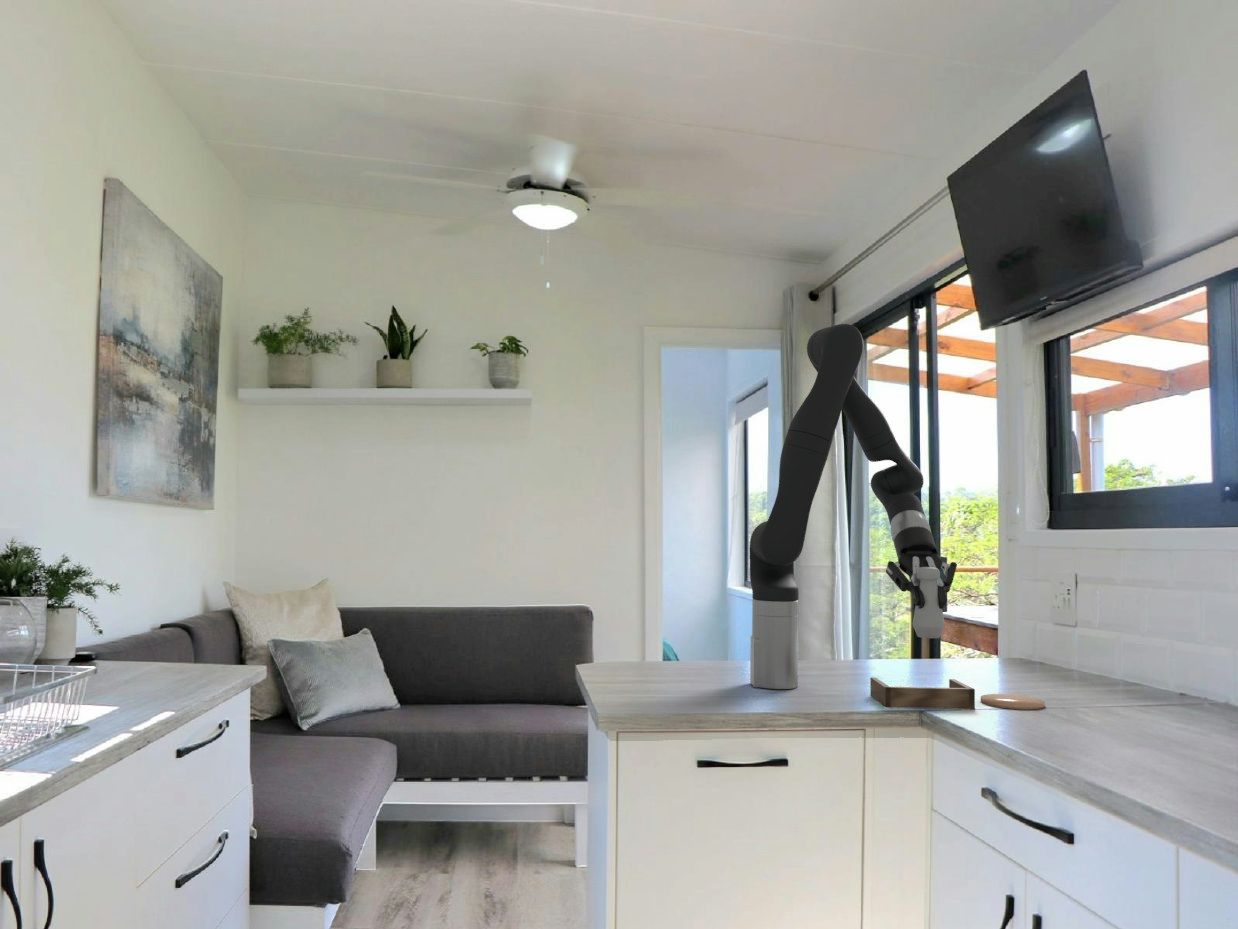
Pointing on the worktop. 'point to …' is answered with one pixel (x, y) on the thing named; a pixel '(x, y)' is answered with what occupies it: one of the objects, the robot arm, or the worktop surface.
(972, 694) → the tray
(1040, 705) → the trivet
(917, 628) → the salt shaker
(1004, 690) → the worktop surface
